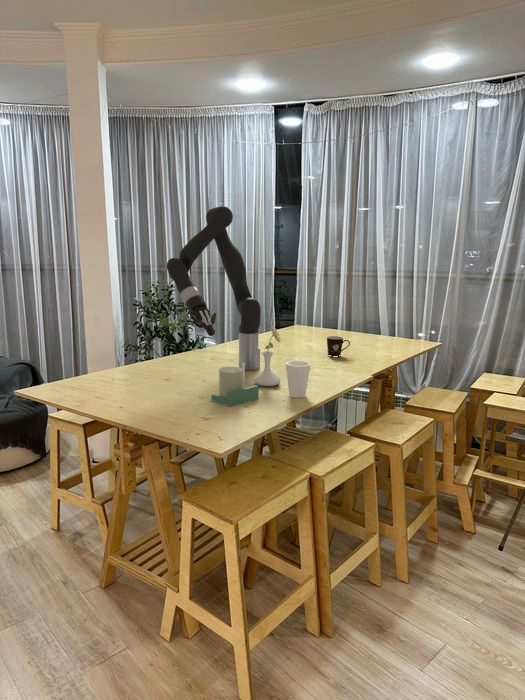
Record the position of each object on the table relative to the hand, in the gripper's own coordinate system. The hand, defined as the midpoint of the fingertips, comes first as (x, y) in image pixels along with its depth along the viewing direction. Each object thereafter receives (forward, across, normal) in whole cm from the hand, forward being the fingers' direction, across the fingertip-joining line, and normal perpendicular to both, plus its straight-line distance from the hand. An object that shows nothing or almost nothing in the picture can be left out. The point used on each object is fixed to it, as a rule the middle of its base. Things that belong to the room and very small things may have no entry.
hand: (212, 334), depth 195 cm
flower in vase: (+22, +23, +11) cm, 34 cm away
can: (+25, -1, +7) cm, 26 cm away
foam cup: (+35, +21, -3) cm, 41 cm away
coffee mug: (+13, +86, +20) cm, 90 cm away
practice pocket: (+26, -1, +6) cm, 27 cm away
